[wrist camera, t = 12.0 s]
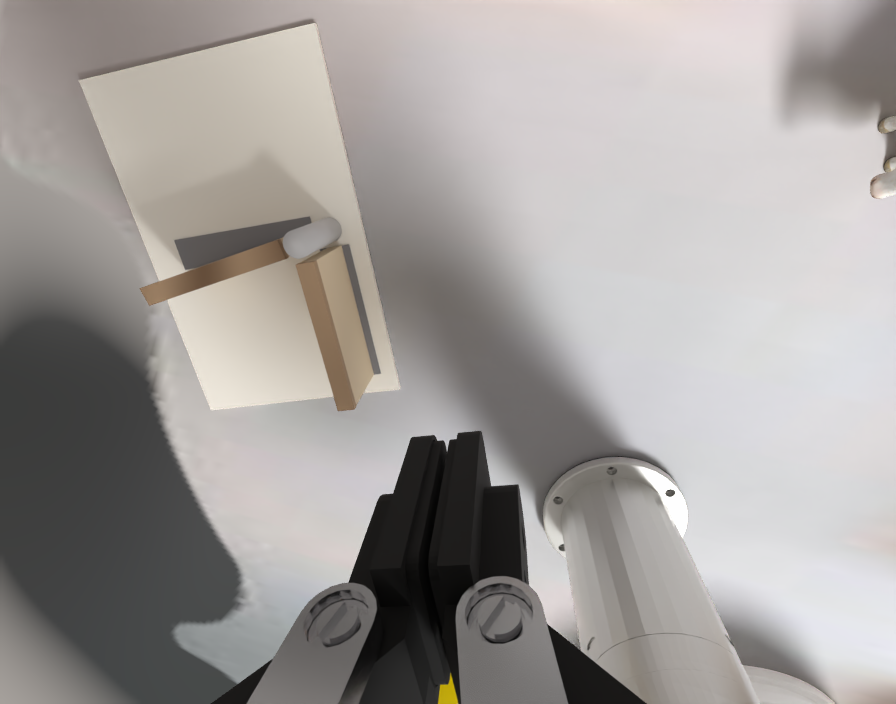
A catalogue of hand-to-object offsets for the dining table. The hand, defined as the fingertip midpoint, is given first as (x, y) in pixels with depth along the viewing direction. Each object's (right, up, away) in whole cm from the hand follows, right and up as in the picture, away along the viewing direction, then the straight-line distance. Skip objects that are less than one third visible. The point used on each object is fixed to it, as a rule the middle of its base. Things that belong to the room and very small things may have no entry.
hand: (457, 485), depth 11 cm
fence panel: (-16, +11, +26) cm, 32 cm away
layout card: (-15, +11, +27) cm, 33 cm away
